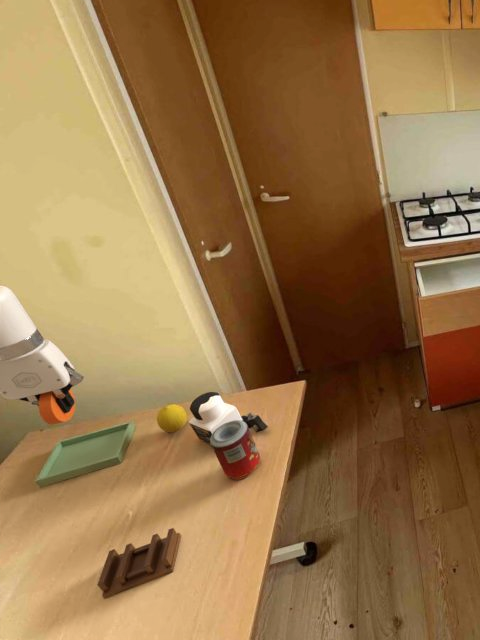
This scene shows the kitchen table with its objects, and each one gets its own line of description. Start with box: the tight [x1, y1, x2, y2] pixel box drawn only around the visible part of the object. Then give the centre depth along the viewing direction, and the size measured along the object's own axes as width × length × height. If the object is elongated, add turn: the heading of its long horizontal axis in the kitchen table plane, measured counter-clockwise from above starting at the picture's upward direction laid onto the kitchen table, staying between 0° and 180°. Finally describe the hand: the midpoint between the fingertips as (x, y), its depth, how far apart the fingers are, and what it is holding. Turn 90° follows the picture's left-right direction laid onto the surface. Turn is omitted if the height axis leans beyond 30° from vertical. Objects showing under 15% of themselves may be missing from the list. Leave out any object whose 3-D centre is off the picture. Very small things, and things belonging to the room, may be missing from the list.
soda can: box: [209, 420, 261, 480], centre depth 93 cm, size 7×7×12 cm
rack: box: [96, 527, 182, 599], centre depth 77 cm, size 10×7×4 cm
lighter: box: [240, 412, 269, 433], centre depth 104 cm, size 8×2×5 cm
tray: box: [34, 420, 136, 488], centre depth 98 cm, size 14×11×2 cm
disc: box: [38, 389, 76, 425], centre depth 91 cm, size 2×8×8 cm, turn 25°
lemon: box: [156, 403, 188, 433], centre depth 103 cm, size 6×6×8 cm
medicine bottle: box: [188, 391, 243, 446], centre depth 101 cm, size 7×7×12 cm
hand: (61, 409), depth 92 cm, fingers closed on disc, 2 cm apart
